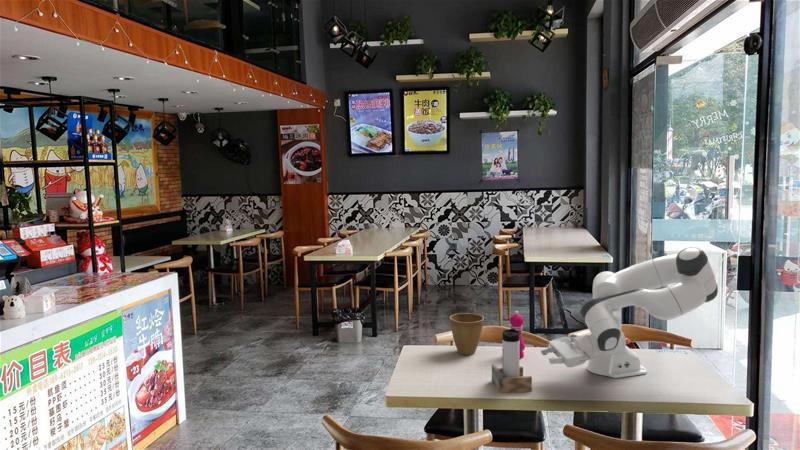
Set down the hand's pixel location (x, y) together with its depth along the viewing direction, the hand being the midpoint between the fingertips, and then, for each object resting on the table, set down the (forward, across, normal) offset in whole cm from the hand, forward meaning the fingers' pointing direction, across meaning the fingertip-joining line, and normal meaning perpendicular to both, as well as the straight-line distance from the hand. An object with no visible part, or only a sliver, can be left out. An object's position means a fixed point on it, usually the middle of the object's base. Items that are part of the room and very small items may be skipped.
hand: (545, 357), depth 225 cm
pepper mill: (+4, +35, -12) cm, 37 cm away
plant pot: (+23, +42, -8) cm, 49 cm away
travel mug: (+14, +2, -8) cm, 16 cm away
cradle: (+14, +2, -9) cm, 17 cm away
